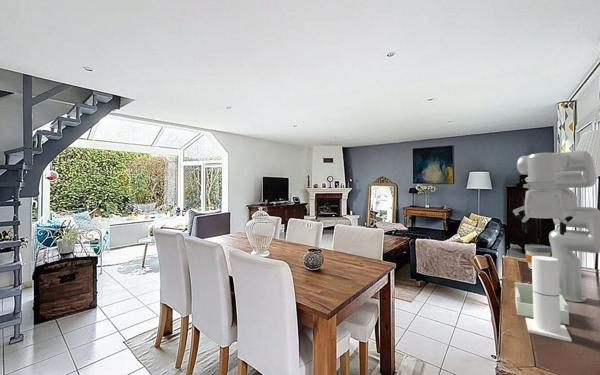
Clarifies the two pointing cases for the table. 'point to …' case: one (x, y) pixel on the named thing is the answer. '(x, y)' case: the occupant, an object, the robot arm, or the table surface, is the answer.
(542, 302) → the cylindrical container
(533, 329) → the tile
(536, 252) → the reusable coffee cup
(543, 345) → the table surface
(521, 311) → the frame
